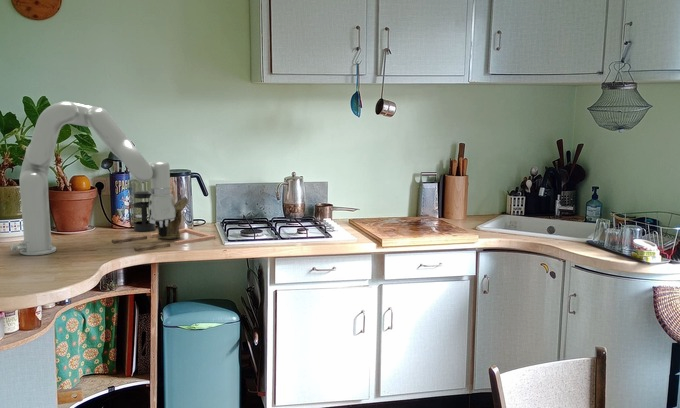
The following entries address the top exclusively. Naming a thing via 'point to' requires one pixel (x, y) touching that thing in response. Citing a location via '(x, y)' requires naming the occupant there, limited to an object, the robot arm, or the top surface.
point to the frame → (202, 238)
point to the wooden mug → (174, 225)
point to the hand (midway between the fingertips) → (162, 236)
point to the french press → (144, 224)
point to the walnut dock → (141, 248)
